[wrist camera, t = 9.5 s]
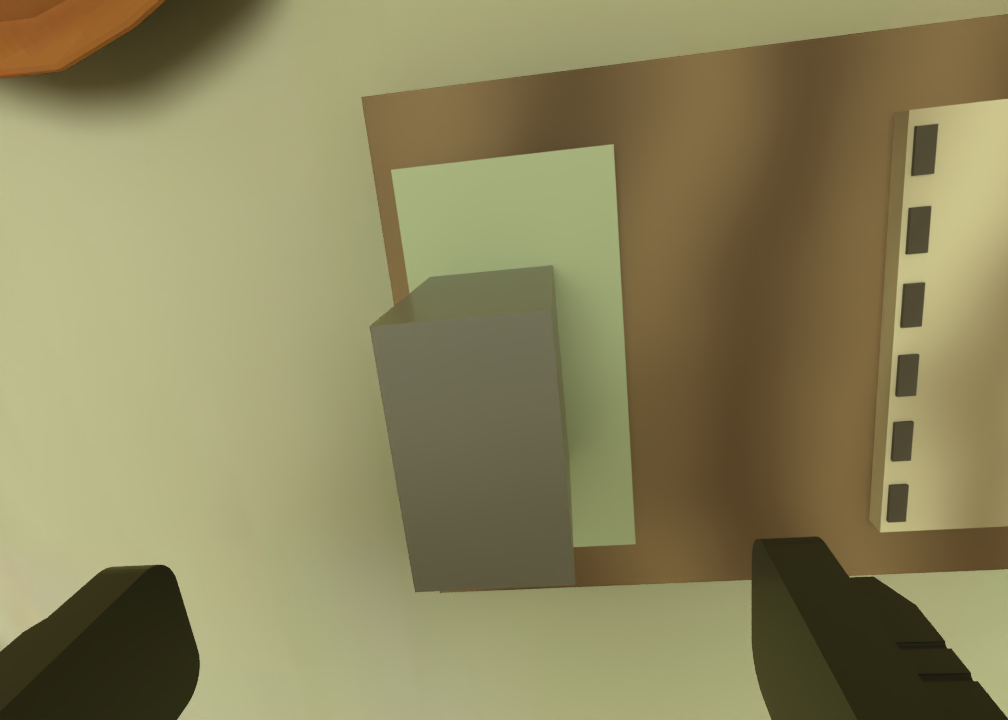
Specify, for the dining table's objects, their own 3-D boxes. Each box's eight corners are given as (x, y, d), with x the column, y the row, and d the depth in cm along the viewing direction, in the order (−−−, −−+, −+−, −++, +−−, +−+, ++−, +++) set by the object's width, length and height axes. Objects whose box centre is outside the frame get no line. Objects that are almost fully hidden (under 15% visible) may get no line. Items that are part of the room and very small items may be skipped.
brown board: (1194, -1, 16) (1341, -42, 13) (1097, 536, 21) (1191, 599, 18) (376, 103, 19) (340, 89, 16) (447, 566, 23) (430, 626, 20)
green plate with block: (612, 144, 17) (645, 128, 11) (634, 537, 20) (668, 696, 14) (394, 169, 17) (306, 167, 11) (450, 546, 21) (406, 702, 15)
